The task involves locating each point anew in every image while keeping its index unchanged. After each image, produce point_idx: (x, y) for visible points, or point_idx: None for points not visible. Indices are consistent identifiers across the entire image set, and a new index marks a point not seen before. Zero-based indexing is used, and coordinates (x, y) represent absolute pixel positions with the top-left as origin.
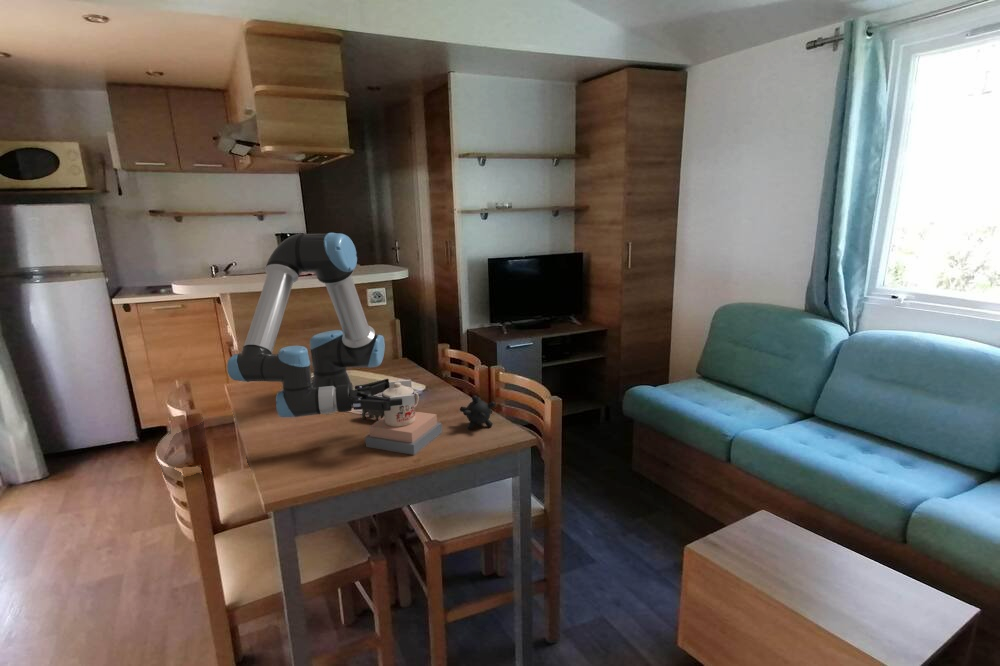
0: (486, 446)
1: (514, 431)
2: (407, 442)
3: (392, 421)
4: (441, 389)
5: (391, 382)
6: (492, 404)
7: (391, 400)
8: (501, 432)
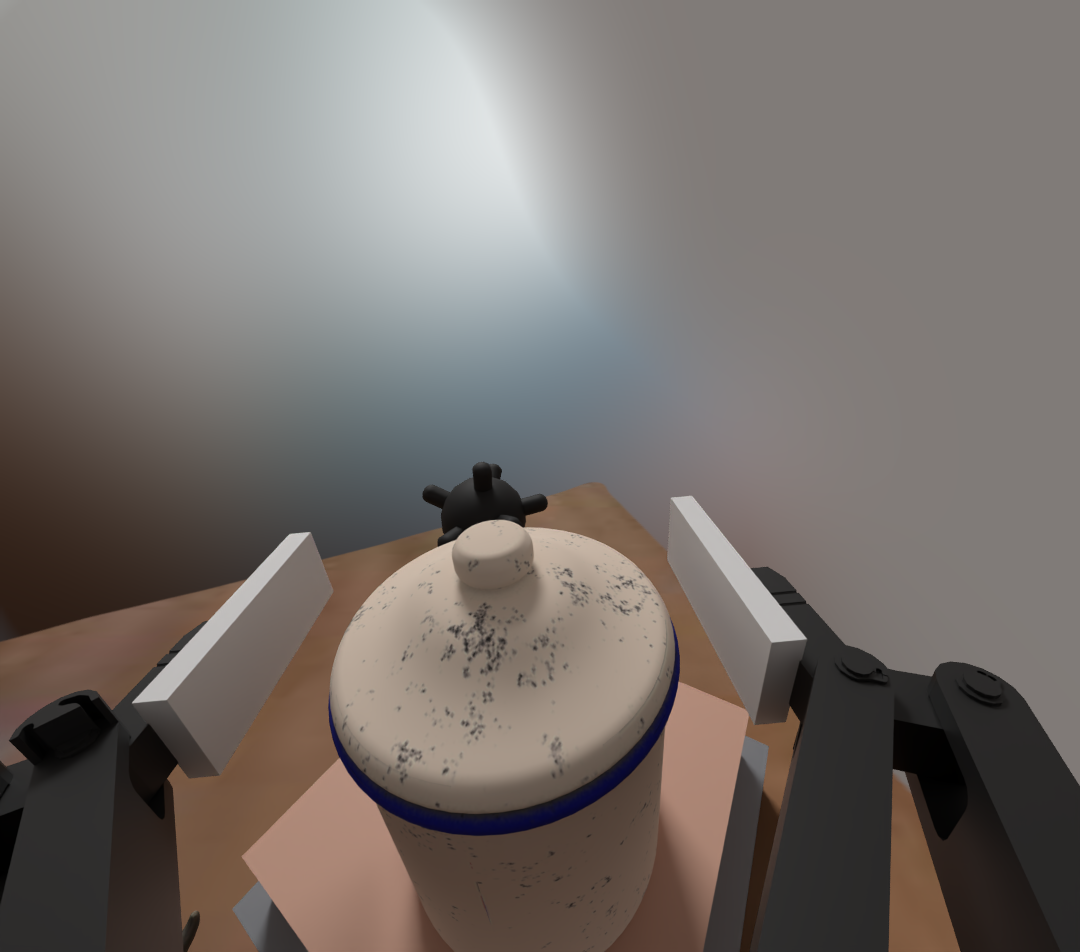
0: (648, 547)
1: (558, 502)
2: (739, 788)
3: (653, 846)
4: (11, 658)
5: (192, 675)
6: (499, 470)
7: (821, 646)
8: (557, 520)
